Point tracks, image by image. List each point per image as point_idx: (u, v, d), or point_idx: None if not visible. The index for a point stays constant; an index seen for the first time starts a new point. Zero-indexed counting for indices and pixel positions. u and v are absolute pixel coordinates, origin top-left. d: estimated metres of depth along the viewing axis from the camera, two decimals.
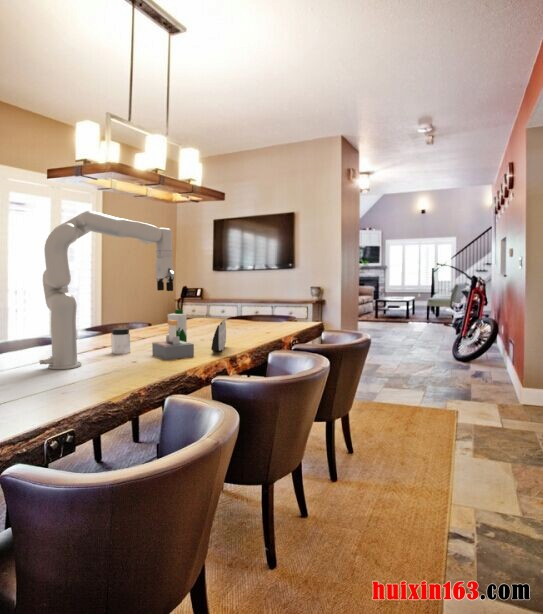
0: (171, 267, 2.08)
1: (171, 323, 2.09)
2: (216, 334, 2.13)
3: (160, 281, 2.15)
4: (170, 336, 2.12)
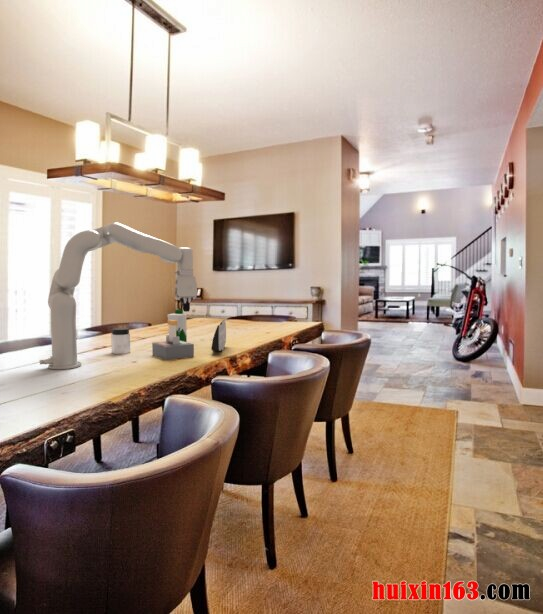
0: None
1: (171, 323, 2.09)
2: (216, 334, 2.13)
3: (185, 301, 2.14)
4: (170, 336, 2.12)
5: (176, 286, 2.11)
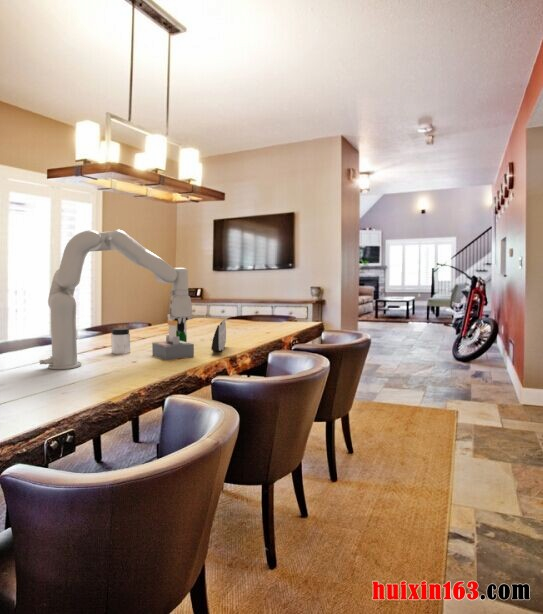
0: None
1: (171, 323, 2.09)
2: (216, 334, 2.13)
3: None
4: (170, 336, 2.12)
5: (171, 306, 2.10)
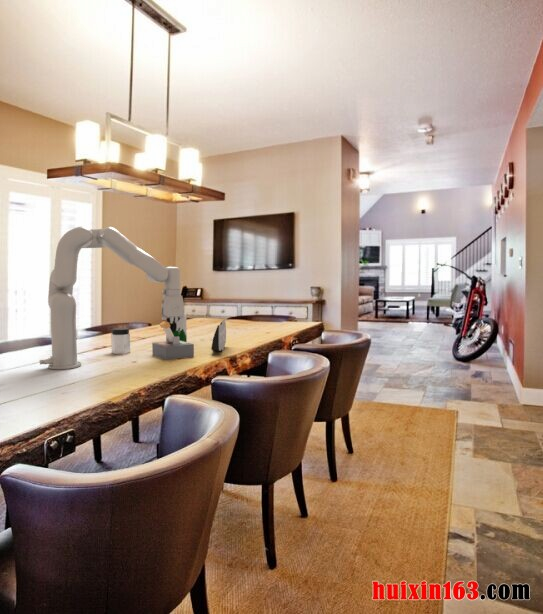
0: None
1: (164, 327, 2.07)
2: (216, 334, 2.13)
3: None
4: (169, 337, 2.11)
5: (162, 306, 2.07)
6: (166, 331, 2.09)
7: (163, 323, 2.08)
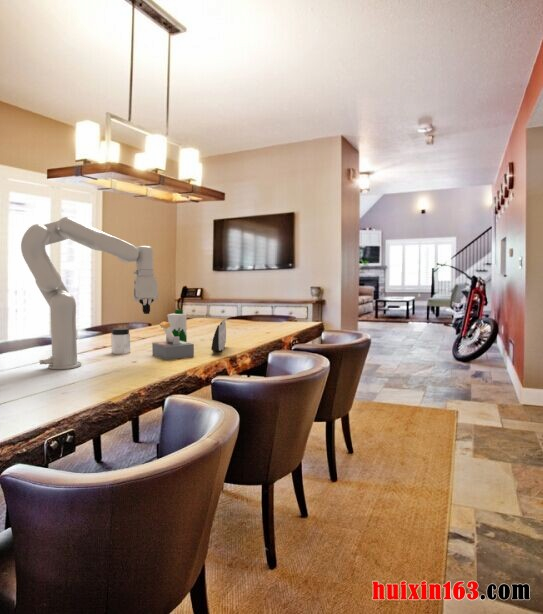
0: None
1: (164, 327, 2.07)
2: (216, 334, 2.13)
3: None
4: (169, 337, 2.11)
5: (135, 287, 1.99)
6: (166, 331, 2.09)
7: (163, 323, 2.08)
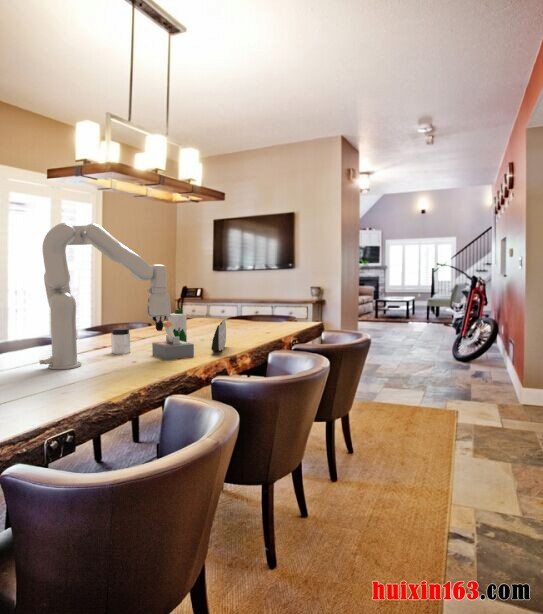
0: None
1: (166, 326, 2.07)
2: (216, 334, 2.13)
3: None
4: (169, 337, 2.11)
5: (148, 305, 2.03)
6: (167, 330, 2.10)
7: (165, 322, 2.09)
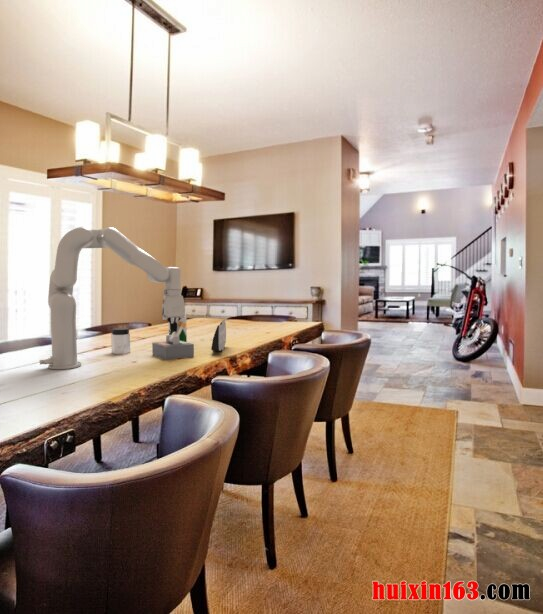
0: None
1: (179, 324, 2.11)
2: (216, 334, 2.13)
3: (172, 321, 2.11)
4: (172, 336, 2.12)
5: (163, 306, 2.07)
6: None
7: None
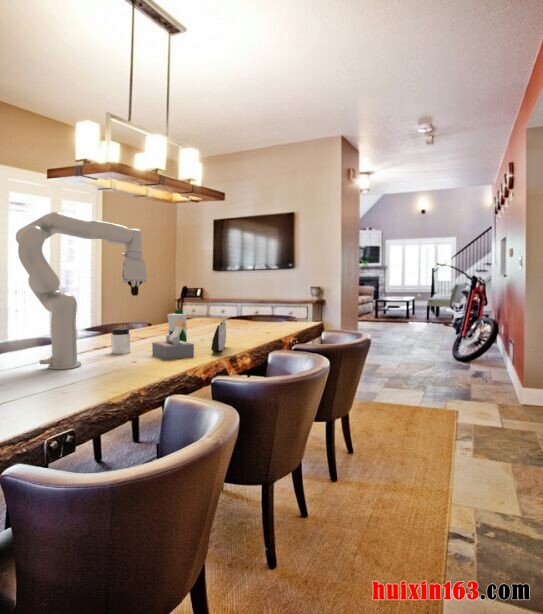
0: None
1: (179, 324, 2.11)
2: (216, 334, 2.13)
3: (133, 284, 2.07)
4: (172, 336, 2.12)
5: (123, 269, 2.03)
6: (176, 329, 2.12)
7: None
